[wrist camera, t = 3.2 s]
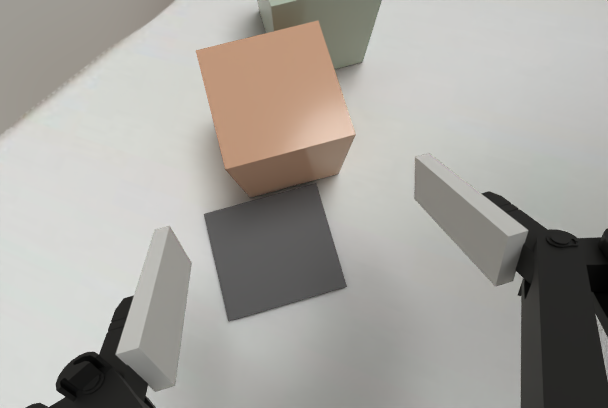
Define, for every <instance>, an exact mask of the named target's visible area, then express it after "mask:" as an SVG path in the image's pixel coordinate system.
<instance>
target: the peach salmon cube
mask: <svg viewBox="0 0 608 408" xmlns="http://www.w3.org/2000/svg"><path fill="white" fill-rule="evenodd" d="M196 53H197V57H198V61H199V65H200V69H201V73H202V77H203V81H204V86H205V90H206V94H207V98H208V102H209V106H210V110H211V114H212V118H213V122H214V126H215V130H216V134H217V138H218V142H219V146H220V150H221V154H222V158H223V162H224V166H225V170H226V171H227V172H228V173H229V174H230V175H231V176H232V178H233V179H234V180H235V181H236V182H237V183H238V184H239V185H240V187H241V188H242V189H243V190H244V191H245V192H246V193H247V195H248V196H249V197H250V198H252V197H256V196H259V195H263V194H267V193H270V192H274V191H278V190H281V189H285V188H288V187H292V186H296V185H299V184H303V183H307V182H310V181H314V180H318V179H321V178H325V177H329V176H332V175H336V174H339V172H340V169H341V167H342V165H343V162H344V160H345V158H346V156H347V153H348V151H349V149H350V146H351V144H352V142H353V139H354V137H355V135H356V134H355V131H354V128H353V125H352V122H351V118H350V115H349V112H348V109H347V106H346V103H345V100H344V97H343V94H342V91H341V88H340V85H339V82H338V79H337V76H336V73H335V70H334V67H333V64H332V60H331V57H330V54H329V51H328V48H327V45H326V42H325V39H324V36H323V33H322V30H321V27H320V24H319V21H314V22H310V23H305V24H301V25H297V26H293V27H289V28H285V29H281V30H277V31H273V32H269V33H265V34H261V35H257V36H253V37H249V38H245V39H241V40H237V41H233V42H228V43H224V44H220V45H216V46H212V47H208V48H204V49H200V50H196Z"/></svg>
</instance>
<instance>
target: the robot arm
mask: <svg viewBox="0 0 608 408" xmlns="http://www.w3.org/2000/svg"><path fill="white" fill-rule="evenodd" d="M414 199H415V200H416V201H417V202H418V203H419V204H420V205H421V207H422V208H423V209H424V210H425V211H426V212H427V213H428V214H429V215H430V216H431V217H432V218H433V220H434V221H435V222H436V223H437V224H438V225H439V226H440V227H441V228H442V229H443V230H444V231H445V233H446V234H447V235H448V236H449V237H450V238H451V239H452V240H453V241H454V242H455V243H456V244H457V246H458V247H459V248H460V249H461V250H462V251H463V252H464V253H465V254H466V255H467V256H468V257H469V259H470V260H471V261H472V262H473V263H474V264H475V265H476V266H477V267H478V268H479V269H480V270H481V272H482V273H483V274H484V275H485V276H486V277H487V278H488V279H489V280H490V281H491V282H492V283H493V285H494V286H499V285H502V284H505V283H508V282H511V281H513V279H514V276H515V273H516V271H517V272H518V273H519V274H520V275H521V276H522V277H523V281H522V284H521V287H520V290H519V293H518V296H521V295H522V302H521V408H608V381H607V376H606V370H605V365H604V359H603V354H602V349H601V343H600V338H599V332H598V327H597V321H596V316H595V314H596V315H597V317H598V319H599V321H600V323H601V325H602V327H603V329H604V331H605V333H606V334H607V336H608V229H606V230H605V231H604V233H603V235H602V237H601V238H577V237H575V236H574V235H572V234H570V233H568V232H565V231H561V230H551V229H549V230H547V229H546V228H544V227H543V226H542V225H540V224H539V223H538V222H536V221H535V220H534V219H532V218H531V217H529V216H528V215H527V214H525V213H524V212H523V211H521V210H518V208H517V207H516V206H514V205H513V204H512V205H511V203H510V202H509V201H507V200H506V199H505V198H503V197H502V196H500V195H497V194H495V193H492V192H485V193H482V194H481V193H480V192H478V191H477V190H476V189H475V188H473V187H472V186H471V185H469V184H468V183H467V182H466V181H464V180H463V179H462V178H460V177H459V176H458V175H457V174H455V173H454V172H453V171H451V170H450V169H449V168H448V167H446V166H445V165H444V164H442V163H441V162H440V161H439V160H437V159H436V158H435V157H433V156H432V155H431V154H430V153H427V154H423V155H420V156H416V157H415V192H414ZM191 264H192V263H191V261H190V259H189V258H188V256H187V254H186V253H185V251H184V249H183V248H182V246H181V244H180V242H179V241H178V239H177V237H176V236H175V234H174V232H173V231H172V229H171V227H170V226H167V227H163V228H160V229H156V230H154V233H153V236H152V240H151V243H150V246H149V249H148V252H147V256H146V259H145V262H144V265H143V268H142V272H141V275H140V278H139V281H138V284H137V288H136V291H135V294H134V296H131V297H127V298H124V299H123V300H122V301H121V303H120V304H119V306H118V307H117V308H116V310H115V312H114V315H113V318H112V320H111V322H112V323H110V326H109V329H108V333H107V334H106V337H105V340H104V343H103V345H102V348H101V351H100V354H97V353H95V352H87V353H84V354H81V355H79V356H78V357H76V358H75V359H73V360H72V361H71V362H70V363H69V364H68V365H67V366H66V367H65V368H64V369H63V370H62V372H61V373H60V375H59V376H58V379H57V382H56V391H58V392H59V393H61V394H62V395H64V396H65V398H63V399H62V400H60V401H58V402H57V403H55V404H53V405H52V406H50V407H47V406H45V405H43V404H41V403H36V404H32V405H30V406H28V407H26V408H156V407H155V406H154V405H153V403H152V402H151V401H150V400H149V399H148V398H147V397H146V392H147V387H148V386H150V387H151V388H152V389H153V390H154V391H155V392H156V391H159V390H163V389H166V388H169V387H172V386H175V383H176V375H177V368H178V360H179V353H180V346H181V338H182V331H183V323H184V316H185V309H186V301H187V294H188V286H189V279H190V272H191Z"/></svg>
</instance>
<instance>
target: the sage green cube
mask: <svg viewBox="0 0 608 408" xmlns="http://www.w3.org/2000/svg"><path fill="white" fill-rule="evenodd" d="M257 1H258V7H259V11H260V15H261V18H262V22H263V25H264V28H265V32H266V33H269V32H273V31H277V30H281V29H285V28H289V27H293V26H297V25H301V24H305V23H310V22H314V21H319V24H320V27H321V30H322V33H323V36H324V39H325V42H326V45H327V48H328V51H329V54H330V57H331V60H332V64H333V67H334V69H337V68H341V67H345V66H349V65H353V64H357V63H361V62H363V59H364V56H365V53H366V49H367V46H368V43H369V40H370V37H371V33H372V30H373V27H374V24H375V20H376V17H377V14H378V11H379V7H380V4H381V1H382V0H257Z"/></svg>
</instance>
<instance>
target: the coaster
mask: <svg viewBox="0 0 608 408" xmlns="http://www.w3.org/2000/svg"><path fill="white" fill-rule="evenodd" d="M204 217H205V221H206V225H207V230H208V234H209V238H210V243H211V247H212V251H213V256H214V260H215V264H216V269H217V273H218V277H219V282H220V286H221V290H222V295H223V299H224V303H225V308H226V312H227V316H228V321H231V320H235V319H238V318H242V317H245V316H248V315H252V314H255V313H259V312H262V311H265V310H269V309H272V308H276V307H279V306H282V305H286V304H289V303H293V302H296V301H299V300H303V299H306V298H310V297H313V296H316V295H320V294H323V293H327V292H330V291H333V290H337V289H340V288H344V287H347V286H346V282H345V279H344V276H343V272H342V269H341V265H340V262H339V259H338V255H337V252H336V249H335V245H334V242H333V239H332V235H331V232H330V228H329V225H328V222H327V218H326V215H325V212H324V208H323V205H322V201H321V198H320V195H319V191H318V188H317V185H316V183H315V184H312V185H308V186H304V187H301V188H297V189H293V190H290V191H286V192H282V193H279V194H275V195H271V196H268V197H264V198H261V199H257V200H253V201H250V202H246V203H242V204H239V205H235V206H231V207H228V208H224V209H221V210H217V211H213V212H210V213H206V214H204Z"/></svg>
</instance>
